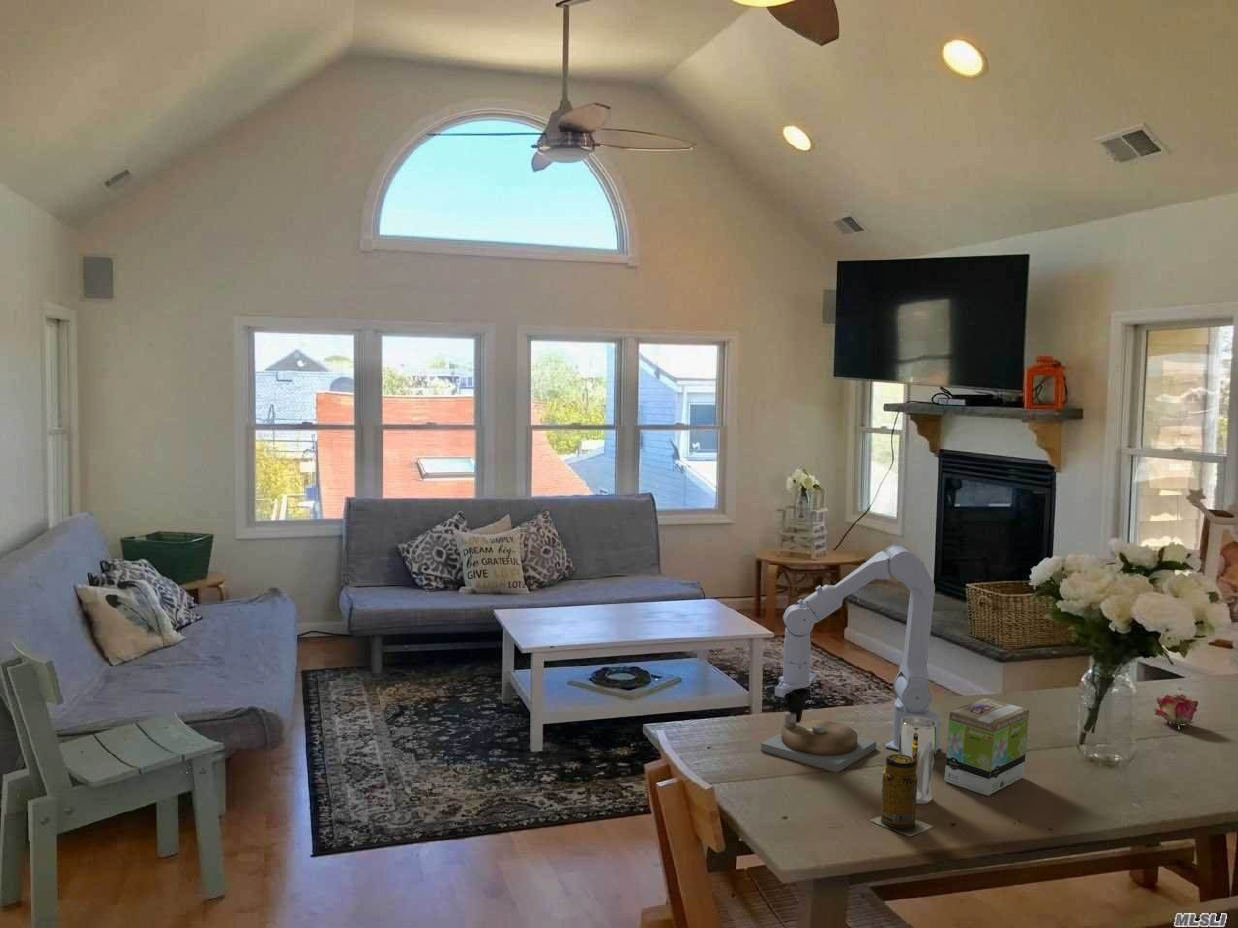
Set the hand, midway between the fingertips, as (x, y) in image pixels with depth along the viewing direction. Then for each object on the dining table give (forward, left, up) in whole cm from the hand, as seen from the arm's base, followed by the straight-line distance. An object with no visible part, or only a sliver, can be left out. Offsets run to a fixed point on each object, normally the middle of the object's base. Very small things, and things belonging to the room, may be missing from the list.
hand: (794, 721), depth 226 cm
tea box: (-39, -8, -5) cm, 40 cm away
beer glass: (-32, +10, -5) cm, 34 cm away
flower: (-61, -72, -5) cm, 94 cm away
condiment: (-35, +23, -5) cm, 43 cm away
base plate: (-6, 0, -5) cm, 8 cm away
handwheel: (-6, 0, -3) cm, 7 cm away
